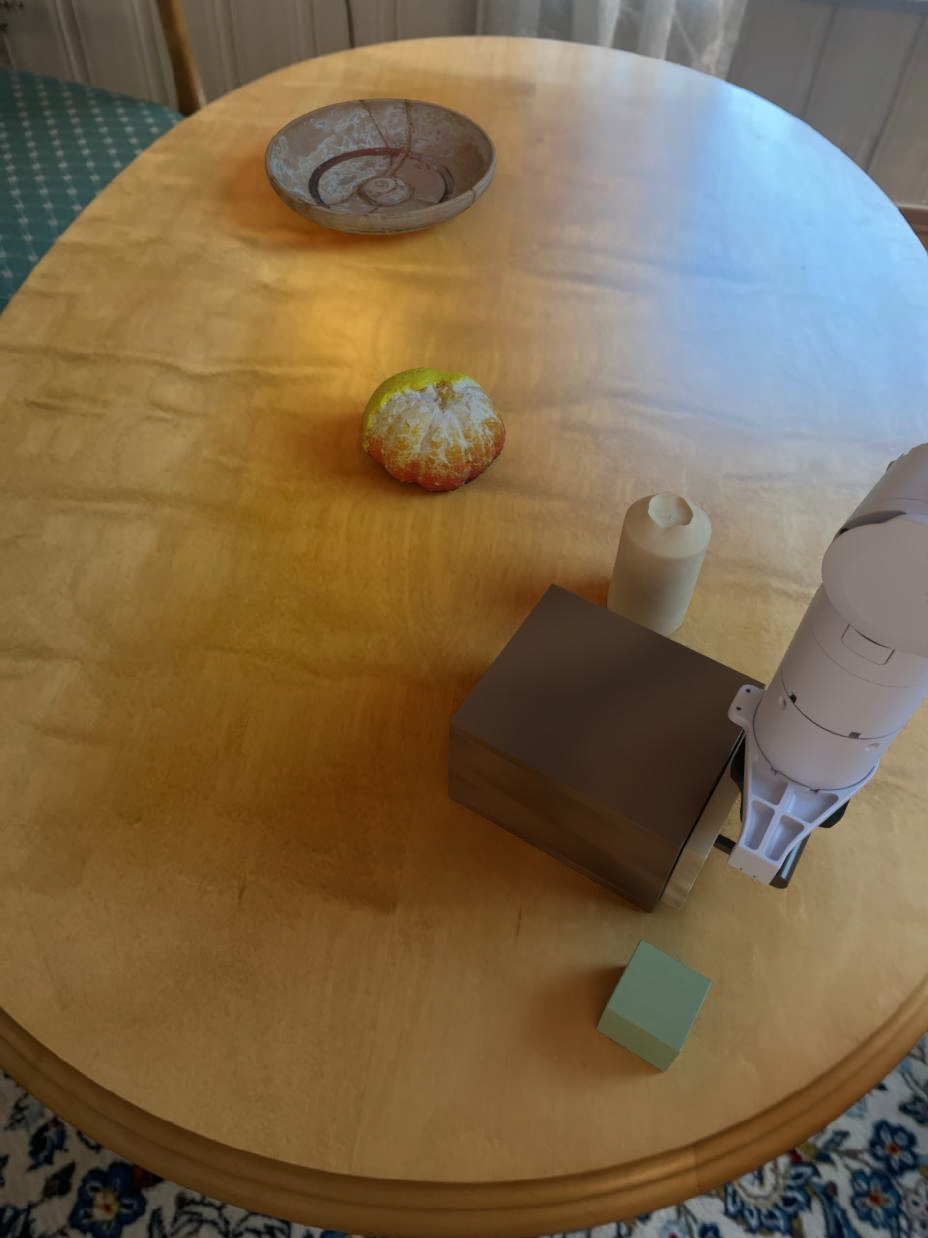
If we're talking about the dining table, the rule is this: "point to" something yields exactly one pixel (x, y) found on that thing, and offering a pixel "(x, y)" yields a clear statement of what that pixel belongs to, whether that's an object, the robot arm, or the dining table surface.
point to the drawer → (717, 843)
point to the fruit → (432, 428)
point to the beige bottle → (658, 561)
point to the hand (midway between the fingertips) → (761, 821)
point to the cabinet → (596, 742)
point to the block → (654, 1006)
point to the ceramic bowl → (380, 165)
